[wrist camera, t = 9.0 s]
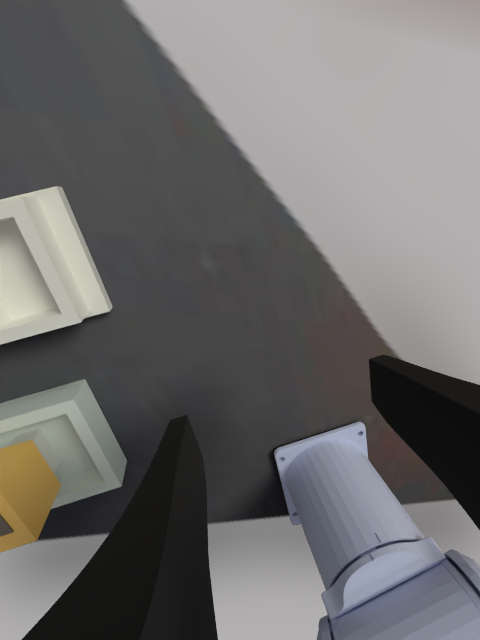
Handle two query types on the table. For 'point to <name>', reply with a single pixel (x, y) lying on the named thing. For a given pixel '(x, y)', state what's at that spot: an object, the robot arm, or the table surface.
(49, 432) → the parts tray
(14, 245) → the white open box
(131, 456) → the table surface
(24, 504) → the block
